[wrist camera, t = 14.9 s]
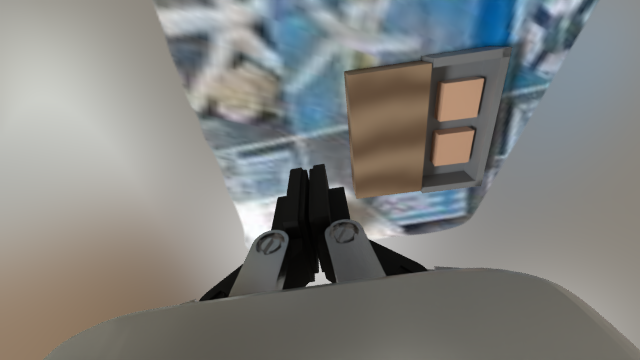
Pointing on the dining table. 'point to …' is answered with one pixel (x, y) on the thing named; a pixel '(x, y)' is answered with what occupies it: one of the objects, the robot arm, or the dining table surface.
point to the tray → (455, 66)
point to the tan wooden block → (388, 127)
